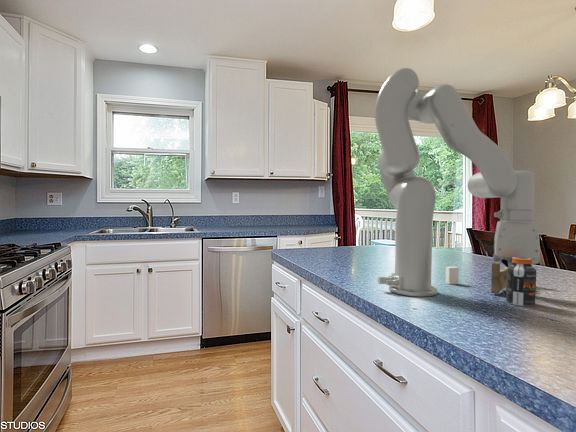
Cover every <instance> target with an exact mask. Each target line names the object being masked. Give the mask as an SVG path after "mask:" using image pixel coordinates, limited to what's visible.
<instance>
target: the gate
mask: <svg viewBox="0 0 576 432" xmlns="http://www.w3.org/2000/svg"><path fill="white" fill-rule="evenodd" d="M507 269H508V268H507V267H506V266H505V267H502V268H501V263H500V262H492V263H491V281H490V282H491V285H490V287H491V288H490V291H491V292H490V293H491V294H495V295H498V294H500V291H502V290H505V289H507Z"/></svg>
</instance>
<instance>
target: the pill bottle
mask: <svg viewBox="0 0 576 432" xmlns="http://www.w3.org/2000/svg"><path fill="white" fill-rule="evenodd" d="M512 263H513V264H512V265H510V266H509V267H508V269H507V287H506V296H505V301H506V302H507V303H508V304H511V305H514V306H519V307H533V306H534V307H535V305H536V296H537V295H536V292H537V269H536V268H535V267H534V266H533V264H532V259H530V258H525V257H513V258H512Z"/></svg>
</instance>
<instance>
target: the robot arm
mask: <svg viewBox="0 0 576 432" xmlns="http://www.w3.org/2000/svg"><path fill="white" fill-rule="evenodd" d="M419 88H420V80H419V76H418V75H417V73H416V71H414V69H411V68H409V67H403V68H400V69H397V70H395V71H394V72H393V73H391V74H390V75H389V77H388V78H387V79H386V81H385V82H384V83H383V84H382V86H381V88H380V90H379V92H378V95H377V98H376V101H375V108H374V120H375V126H376V130H377V135H378V137H379V141H380V145H381V148H382V150H381V151H380V153H379V156H378V161H377V163H378V164H377V165H378V169H379V170H378V171H379V173H380V176H381V179H382V182H383V186H384V189H385V191H386V194H387V198H388V200H389V202H390V203H391V205H392V206H393V207H394V208H396V209H397V210H396V217H395V242H394V243H395V247H394V251H395V252H394V253H395V254H394V272H391V275H389V276H386V277H385V276H378V277H377V283H378V285H386V286H388V290H389V291H390V292H391V293H394V294H398V295H402V296H407V297H408V296H409V297H421V298H422V297H423V298H424V297H432V296H436V295H437V294H438V288H437V287H435V286H432V266H433V265H432V262H433V259H432V257H433V256H432V255H433V222H434V221H433V219H434V212H435V206H436V202H437V201H436V198H437V194H436V189H435V187H434V185H433V184H432V182H431V181H429V179H427V178H425V177H422V176H418V175H417V176H416V175H415V171H414V170H415V169H416V168H417V167H418V164H419V162H420V157H421V156H420V152H419V151H420V150H419V149H418V146H417V143H416V140H415V137H414V134H413V131H412V128H411V124H410V121H409V120H412V121H415V122H419V123H423V124H429V125H430V124H434V125H435V127H436V128H437V130H438V132H439V133H440V135H441V137H442V139H443V141H444V143H445V145H446V146H447V148H448V149H450V150H452V151H454V152H456V153H458V154H460V155H463V156H465V158H468V159H469V161H471V162H472V163H473V164H474V166H476V168H477V169H478V171H479V172H477V173H476V172H475V173H474V174H473V175H471V176H470V178H469V179H468V181H467V190H468V191H469V193H470V194H471V195H472V196H473V197H475V198H476V197H477V198H480V199H491V198H500V209H499V211H494V214H493V216H494V218H498V219H499V221H497V223H496V227H495V232H494V239H493V240H494V241H493V256H492V260H493V261H494V262H495V263H500V264H501V263H502V264H503V265H504V266H505V267H507V268H508V267H509V266H510V265H512V264H513V263H512V258H513V257H525V258H530V259H532V265H536V264H539V263H540V255H541V245H540V243H541V242H540V232H539V231H540V230H539V226H538V222H535V221H534V208H535V206H534V205H535V204H534V203H535V174H534V172H532V171H530V170H515V169H514V167H513V166H512V163H511V162H510V160H509V158H508V156H507V155H506V153H505V152H504V151H503V150H502V148H501V146H499V145H498V144H497V143H495V142H494V141H493V140H492V139H490V137H488V136H487V135H486V134H485V133H483V132H481V130H480V129H479V128H478V126H477V124H476V122H475V120H474V119H473V117H472V115H471V114H470V111H469V109H468V108H467V106H466V105H465V103H464V101H463V100H462V98H461V95H460V94H459V92H458V91H457V90H456V88H455V87H454V86H453V85H451V84H447V83H446V84H445V83H444V84H440V85H437V86H435V87H432V89H431V90H429V91H428V92H427V93H425V92H422V91H419Z"/></svg>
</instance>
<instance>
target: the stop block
mask: <svg viewBox="0 0 576 432" xmlns="http://www.w3.org/2000/svg"><path fill="white" fill-rule="evenodd" d="M459 273H460V269H459V267H457V266H445V282H444V283H445V284H448V285H459V275H460V274H459Z"/></svg>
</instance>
